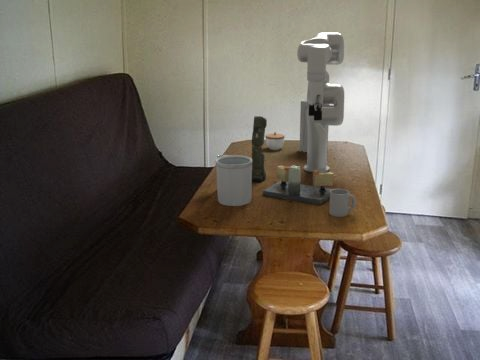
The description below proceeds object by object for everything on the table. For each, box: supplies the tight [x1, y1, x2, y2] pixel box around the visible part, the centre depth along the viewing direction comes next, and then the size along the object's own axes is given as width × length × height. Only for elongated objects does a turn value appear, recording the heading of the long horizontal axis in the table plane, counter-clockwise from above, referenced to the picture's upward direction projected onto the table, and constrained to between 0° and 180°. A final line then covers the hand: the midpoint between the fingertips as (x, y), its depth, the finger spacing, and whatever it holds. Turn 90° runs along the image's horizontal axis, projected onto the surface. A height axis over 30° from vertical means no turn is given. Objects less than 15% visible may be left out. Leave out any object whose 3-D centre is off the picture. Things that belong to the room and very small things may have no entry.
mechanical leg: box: [251, 115, 267, 184], centre depth 257 cm, size 14×7×30 cm, turn 168°
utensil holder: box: [214, 154, 253, 207], centre depth 227 cm, size 15×15×18 cm
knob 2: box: [312, 170, 334, 190], centre depth 234 cm, size 8×3×8 cm, turn 100°
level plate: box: [262, 165, 333, 206], centre depth 235 cm, size 16×26×13 cm, turn 61°
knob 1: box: [276, 165, 291, 184], centre depth 243 cm, size 8×3×8 cm, turn 22°
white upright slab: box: [299, 98, 330, 153], centre depth 307 cm, size 19×15×28 cm
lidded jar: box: [264, 131, 285, 151], centre depth 315 cm, size 11×11×9 cm
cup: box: [328, 188, 357, 218], centre depth 213 cm, size 7×10×9 cm
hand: (315, 117), depth 236 cm, fingers open, 9 cm apart
